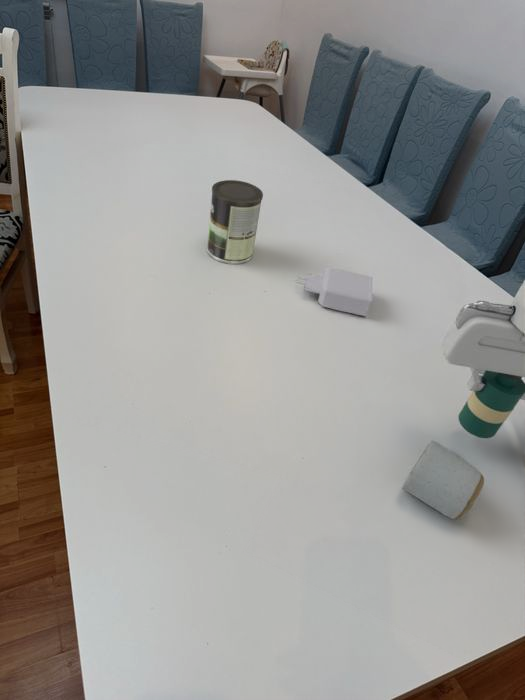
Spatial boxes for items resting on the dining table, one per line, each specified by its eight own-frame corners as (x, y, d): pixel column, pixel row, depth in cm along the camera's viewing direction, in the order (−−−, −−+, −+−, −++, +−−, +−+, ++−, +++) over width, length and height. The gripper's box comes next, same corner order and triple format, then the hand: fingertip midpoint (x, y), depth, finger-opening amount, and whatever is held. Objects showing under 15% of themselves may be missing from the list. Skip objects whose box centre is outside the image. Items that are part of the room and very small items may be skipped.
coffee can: (200, 257, 105) (205, 194, 96) (214, 236, 113) (220, 175, 104) (247, 269, 104) (257, 206, 95) (257, 246, 112) (267, 186, 103)
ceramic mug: (453, 534, 63) (480, 500, 58) (395, 498, 66) (415, 462, 61) (475, 481, 71) (500, 446, 66) (421, 450, 73) (441, 415, 69)
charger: (296, 277, 105) (366, 293, 104) (290, 301, 98) (365, 318, 97) (300, 258, 102) (372, 274, 101) (295, 281, 95) (372, 299, 94)
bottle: (490, 412, 76) (527, 357, 69) (501, 441, 72) (542, 385, 64) (454, 406, 76) (487, 349, 68) (462, 435, 71) (499, 377, 64)
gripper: (473, 313, 58) (429, 395, 67) (641, 344, 58) (576, 421, 67) (461, 284, 63) (421, 364, 71) (617, 313, 63) (558, 389, 72)
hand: (497, 392), depth 69 cm, fingers closed on bottle, 5 cm apart
